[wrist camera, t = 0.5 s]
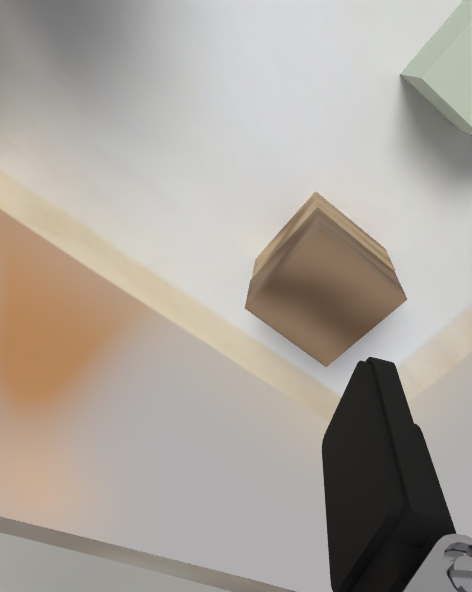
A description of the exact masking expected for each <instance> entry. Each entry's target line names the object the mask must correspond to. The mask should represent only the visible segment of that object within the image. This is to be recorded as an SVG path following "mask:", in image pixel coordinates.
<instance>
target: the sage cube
mask: <svg viewBox="0 0 472 592" xmlns="http://www.w3.org/2000/svg"><path fill="white" fill-rule="evenodd" d="M400 75H401V76H402V77H403V78H404V79H405V80H407V81H408V82H409V83H410V84H411V85H412V86H413V87H414V88H415V89H416V90H417V91H418V92H419V93H420V94H421V95H422V96H423V97H424V98H425V99H427V100H428V101H429V102H430V103H431V104H432V105H433V106H434V107H435V108H436V109H437V110H438V111H439V112H440V113H441V114H442V115H443V116H444V117H445V118H446V119H448V120H449V121H450V122H451V123H452V124H453V125H454V126H455V127H456V128H457V129H459V130H461V131H463V132H465V133H467V134H470V135H472V0H463V1H462V3H461V4H460V5H459V6H458V7H457V8H456V10H455V11H454V12H453V13H452V14H451V15H450V17H449V18H448V19H447V20H446V21H445V22H444V24H443V25H442V26H441V27H440V28H439V29H438V31H437V32H436V33H435V34H434V35H433V36H432V38H431V39H430V40H429V41H428V42H427V43H426V45H425V46H424V47H423V48H422V49H421V50H420V52H419V53H418V54H417V55H416V56H415V57H414V59H413V60H412V61H411V62H410V63H409V64H408V65H407V67H406V68H405V69H404V70H403V71H402V72H401V74H400Z"/></svg>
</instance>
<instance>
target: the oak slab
mask: <svg viewBox="0 0 472 592" xmlns="http://www.w3.org/2000/svg"><path fill="white" fill-rule="evenodd" d="M317 207H318V208H319V209H320V210H321V211H322V212H324V213H325V214H326V215H327V216H328V217H330V218H331V219H332V220H333V221H334V222H336V223H337V224H338V225H339V226H341V227H342V228H343V229H344V230H345V231H347V232H348V233H349V234H350V235H351V236H353V237H354V238H355V239H356V240H357V241H359V242H360V243H361V244H362V245H364V246H365V247H366V248H367V249H368V250H370V251H371V252H372V253H373V254H374V255H376V256H377V257H378V258H379V259H380V260H382V261H383V262H384V263H385V264H386V265H388V266H389V267H390V268H391V269H393V270H394V271H395V269H394V267H393V264H392V262H391V260H390V258H389V256H388V254H387V251H386V249H385V248H384V247H382V246H381V245H380V244H379V243H378V242H376V241H375V240H374V239H373V238H372V237H370V236H369V235H368V234H367V233H365V232H364V231H363V230H362V229H361V228H359V227H358V226H357V225H356V224H355V223H353V222H352V221H351V220H350V219H349V218H347V217H346V216H345V215H344V214H343V213H341V212H340V211H339V210H338V209H337V208H335V207H334V206H333V205H332V204H330V203H329V202H328V201H327V200H326V199H324V198H323V197H322V196H321V195H320V194H318V193H317V192H316V191H315V193H314V194H313V195H312V196H311V197H310V198H309V199H308V200H307V202H306V203H305V204H304V205H303V206H302V207H301V208H300V210H299V211H298V212H297V213H296V214H295V215H294V216H293V217H292V219H291V220H290V221H289V222H288V223H287V224H286V225H285V226H284V228H283V229H282V230H281V231H280V232H279V233H278V234H277V236H276V237H275V238H274V239H273V240H272V241H271V242H270V243H269V245H268V246H267V247H266V248H265V249H264V250H263V251H262V252H261V254H260V255H259V256H258V257H257V258H256V260H255V265H254V270H253V275H252V278H253V277H254V276H255V275H256V274H257V273H258V271H259V270H260V269H261V268H262V267H263V266H264V265H265V264H266V263H267V262H268V260H269V259H270V258H271V257H272V256H273V255H274V254H275V253H276V252H277V251H278V250H279V248H280V247H281V246H282V245H283V244H284V243H285V242H286V241H287V240H288V239H289V238H290V236H291V235H292V234H293V233H294V232H295V231H296V230H297V229H298V228H299V227H300V225H301V224H302V223H303V222H304V221H305V220H306V219H307V218H308V217H309V216H310V215H311V213H312V212H313V211H314V210H315V209H316V208H317Z"/></svg>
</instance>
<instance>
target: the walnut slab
mask: <svg viewBox="0 0 472 592" xmlns="http://www.w3.org/2000/svg"><path fill="white" fill-rule="evenodd" d="M406 300H407V298H406V296H405V293H404V291H403V289H402V287H401V285H400V282H399V280H398V278H397V276H396V274H395V272H394V270H393V269H391V268H390V267H389V266H388V265H386V264H385V263H384V262H383V261H382V260H380V259H379V258H378V257H377V256H376V255H374V254H373V253H372V252H371V251H370V250H368V249H367V248H366V247H365V246H364V245H362V244H361V243H360V242H359V241H357V240H356V239H355V238H354V237H353V236H351V235H350V234H349V233H348V232H347V231H345V230H344V229H343V228H342V227H341V226H339V225H338V224H337V223H336V222H334V221H333V220H332V219H331V218H330V217H328V216H327V215H326V214H325V213H324V212H322V211H321V210H320V209H319V208H318V207H317V208H316V209H315V210H314V211H313V212H312V213H311V215H310V216H309V217H308V218H307V219H306V220H305V221H304V222H303V223H302V224H301V225H300V227H299V228H298V229H297V230H296V231H295V232H294V233H293V234H292V235H291V236H290V238H289V239H288V240H287V241H286V242H285V243H284V244H283V245H282V246H281V247H280V248H279V250H278V251H277V252H276V253H275V254H274V255H273V256H272V257H271V258H270V259H269V260H268V262H267V263H266V264H265V265H264V266H263V267H262V268H261V269H260V270H259V271H258V273H257V274H256V275H255V276H254V277H253V278H252V279H251V280H250V285H249V290H248V295H247V300H246V305H245V309H247V310H248V311H249V312H251V313H252V314H254V315H255V316H256V317H258V318H259V319H261V320H262V321H263V322H265V323H266V324H267V325H269V326H270V327H272V328H273V329H274V330H276V331H277V332H278V333H280V334H281V335H283V336H284V337H285V338H287V339H288V340H289V341H291V342H292V343H294V344H295V345H296V346H298V347H299V348H301V349H302V350H303V351H305V352H306V353H307V354H309V355H310V356H312V357H313V358H314V359H316V360H317V361H318V362H320V363H321V364H323V365H324V366H325V367H327V366H328V365H329V364H330V363H332V362H333V361H334V360H335V359H336V358H338V357H339V356H340V355H341V354H342V353H344V352H345V351H346V350H347V349H348V348H350V347H351V346H352V345H353V344H354V343H356V342H357V341H358V340H359V339H360V338H362V337H363V336H364V335H365V334H366V333H368V332H369V331H370V330H371V329H372V328H374V327H375V326H376V325H377V324H378V323H379V322H381V321H382V320H383V319H384V318H385V317H387V316H388V315H389V314H390V313H391V312H393V311H394V310H395V309H396V308H397V307H399V306H400V305H401V304H402V303H403V302H405V301H406Z"/></svg>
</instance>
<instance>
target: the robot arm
mask: <svg viewBox="0 0 472 592" xmlns="http://www.w3.org/2000/svg"><path fill="white" fill-rule="evenodd" d="M322 459H323V474H324V487H325V504H326V517H327V534H328V547H329V548H328V549H329V564H330V578H331V587H332V590H333V592H472V538H470V537H468V536H465V535H458V534H456V531H455V528H454V525H453V522H452V520H451V516H450V514H449V510H448V507H447V505H446V502H445V499H444V496H443V492H442V489H441V487H440V484H439V481H438V478H437V475H436V472H435V469H434V466H433V463H432V460H431V457H430V454H429V451H428V448H427V445H426V442H425V439H424V436H423V433H422V431H421V429H420V427H419V426H418V425H417V424H414V422H413V419H412V416H411V413H410V410H409V407H408V403H407V400H406V397H405V394H404V391H403V388H402V385H401V382H400V379H399V375H398V372H397V369H396V366H395V364H394V363H393V362H389V361H385V360H381V359H377V358H373V357H369V358H368V359H367V360H366V362H364V361H359V362H358V364H357V365H356V368H355V370H354V372H353V374H352V376H351V378H350V381H349V383H348V385H347V387H346V389H345V391H344V394H343V396H342V398H341V400H340V402H339V405H338V407H337V409H336V411H335V413H334V415H333V418H332V420H331V422H330V424H329V426H328V429H327V431H326V433H325V435H324V438H323V443H322ZM0 592H295V591H292V590H288V589H284V588H281V587H277V586H273V585H269V584H266V583H262V582H258V581H255V580H251V579H247V578H244V577H240V576H236V575H232V574H228V573H224V572H220V571H216V570H212V569H208V568H204V567H200V566H196V565H192V564H188V563H184V562H180V561H177V560H172V559H169V558H165V557H161V556H157V555H153V554H148V553H145V552H141V551H137V550H133V549H129V548H125V547H121V546H117V545H113V544H109V543H105V542H101V541H97V540H93V539H89V538H85V537H80V536H77V535H73V534H68V533H65V532H60V531H57V530H53V529H49V528H45V527H41V526H37V525H32V524H28V523H24V522H20V521H16V520H12V519H8V518H4V517H0Z"/></svg>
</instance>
